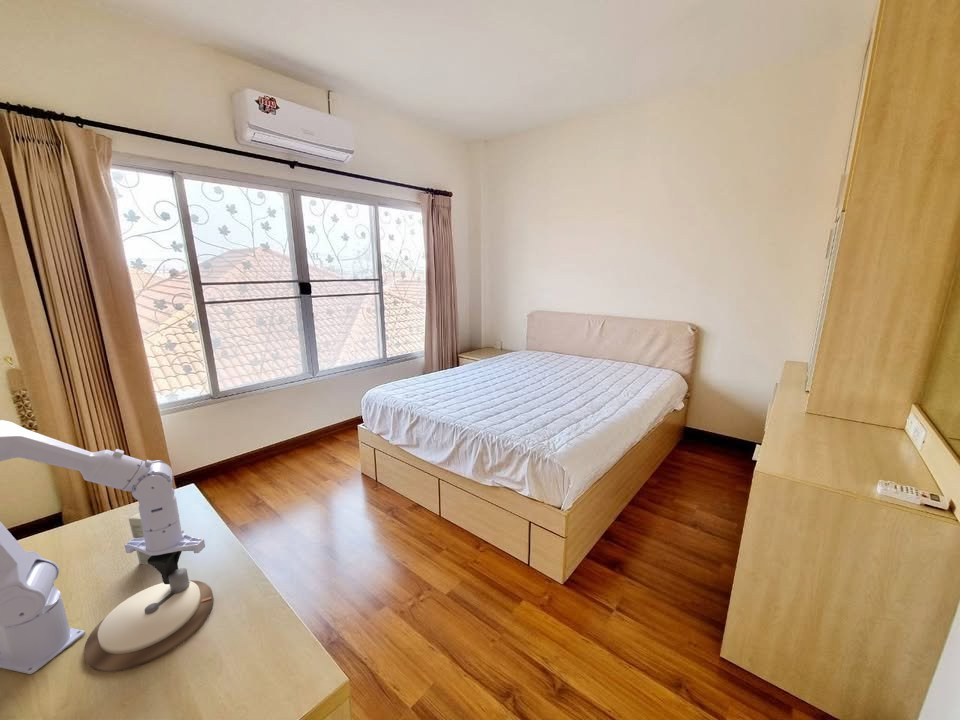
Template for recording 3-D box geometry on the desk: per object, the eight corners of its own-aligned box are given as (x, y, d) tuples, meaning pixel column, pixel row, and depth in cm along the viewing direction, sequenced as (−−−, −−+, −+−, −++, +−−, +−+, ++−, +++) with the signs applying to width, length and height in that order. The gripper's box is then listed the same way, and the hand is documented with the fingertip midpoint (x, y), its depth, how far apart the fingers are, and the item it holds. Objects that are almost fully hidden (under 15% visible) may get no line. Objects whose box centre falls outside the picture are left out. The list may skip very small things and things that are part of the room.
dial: (139, 663, 65) (133, 639, 64) (77, 641, 69) (71, 618, 68) (218, 594, 79) (215, 573, 78) (164, 580, 83) (160, 559, 82)
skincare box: (178, 553, 93) (170, 508, 91) (162, 566, 89) (153, 519, 86) (154, 551, 94) (145, 506, 91) (137, 564, 90) (127, 517, 87)
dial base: (54, 662, 67) (53, 655, 66) (160, 579, 85) (159, 574, 85) (146, 681, 64) (145, 674, 63) (235, 591, 82) (234, 585, 82)
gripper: (211, 510, 80) (219, 566, 83) (141, 510, 80) (152, 566, 83) (186, 532, 73) (196, 592, 76) (110, 532, 73) (123, 592, 76)
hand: (171, 580), depth 79 cm, fingers closed, pressing on dial
